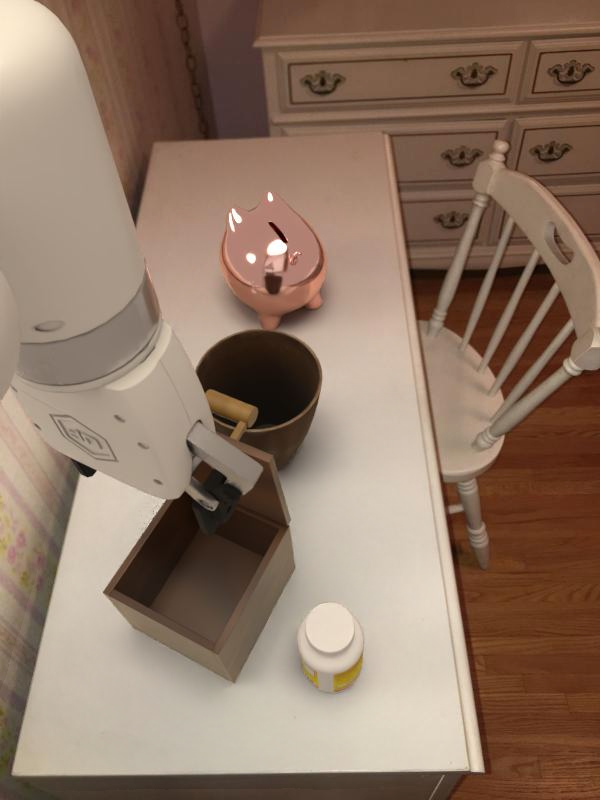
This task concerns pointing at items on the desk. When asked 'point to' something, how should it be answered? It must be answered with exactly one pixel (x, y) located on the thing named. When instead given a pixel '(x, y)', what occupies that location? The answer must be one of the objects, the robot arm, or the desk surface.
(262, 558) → the chest
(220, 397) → the brown wooden box lid
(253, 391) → the flower pot
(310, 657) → the supplement bottle
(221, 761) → the desk surface
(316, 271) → the piggy bank
